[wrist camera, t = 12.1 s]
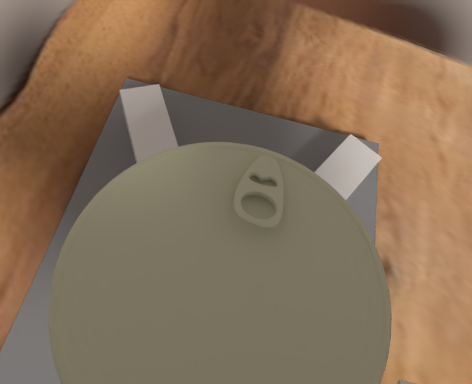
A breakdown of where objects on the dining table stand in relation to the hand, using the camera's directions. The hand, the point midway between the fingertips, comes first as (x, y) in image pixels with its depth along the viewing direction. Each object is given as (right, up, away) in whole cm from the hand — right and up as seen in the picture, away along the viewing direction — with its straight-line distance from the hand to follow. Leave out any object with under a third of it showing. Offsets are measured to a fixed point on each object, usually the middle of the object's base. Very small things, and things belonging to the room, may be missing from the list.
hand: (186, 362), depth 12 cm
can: (0, -2, +9) cm, 9 cm away
